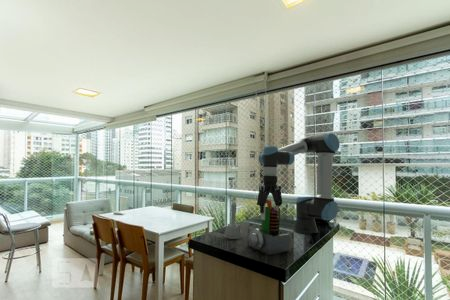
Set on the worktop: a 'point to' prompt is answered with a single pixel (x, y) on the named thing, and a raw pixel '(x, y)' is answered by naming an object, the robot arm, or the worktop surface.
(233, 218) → the engine component
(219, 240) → the worktop surface
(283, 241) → the flange bracket
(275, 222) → the motor
